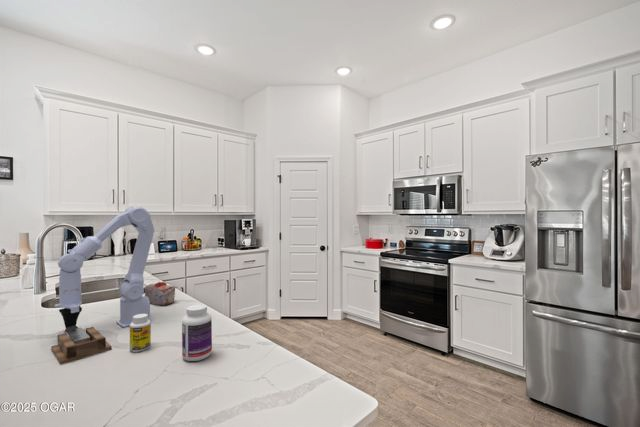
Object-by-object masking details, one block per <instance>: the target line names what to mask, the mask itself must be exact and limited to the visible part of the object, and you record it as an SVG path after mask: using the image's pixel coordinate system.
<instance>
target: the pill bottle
mask: <svg viewBox="0 0 640 427" xmlns="http://www.w3.org/2000/svg"><path fill="white" fill-rule="evenodd" d="M185 311H186V315H184V317H183V318H182V319H181V339H182V340H181V346H182V347H181V355H182V358H183V359H184V360H185V361H187V362H198V361H202V360H205V359H206V358H208V357H210V355H212V351H213V348H212V347H213V344H212V342H213V339H212V337H213V334H212V333H213V332H212V331H213V329H212V327H213V326H212V325H213V324H212V323H213V322H212V314H210V313H209V312H207V311H208V306H207V305H206V304H193V305H190V306H188V307H186V310H185Z"/></svg>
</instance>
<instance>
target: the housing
mask: <svg viewBox="0 0 640 427" xmlns="http://www.w3.org/2000/svg"><path fill="white" fill-rule="evenodd" d="M85 332H86V333H87V334H88V335H89V336H90V341H89V342H85V343H81V344H77V345H75V344H74V342H73V341H72V340H71V339H70V337H69V336H68V335H67V334H66V333H60V334H58V335H57V344H55V345H51V347H50V348H51V351H52V353H53V355H54V356H55V358H56V360H57V362H58V363H59V365H64V364H68V363H70V362H74V361H77V360H81V359H85V358H88V357H91V356H95V355H98V354H101V353H105V352H108V351H111V350H112V345H111V344H110V343H109V342H108V341H106V337H105V336H104V335H103V334H102V333H101V332H100V331H99V330H98V329H97V328H95V327H94V326H90V327H85Z"/></svg>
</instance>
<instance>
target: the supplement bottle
mask: <svg viewBox="0 0 640 427" xmlns="http://www.w3.org/2000/svg"><path fill="white" fill-rule="evenodd" d="M151 323H152V322H151V320H148V314H138V315H135V316H133V322H132V323H131V324H130V326H129V350H130V351H131V352H133V353H138V352H140V353H141V352H144V351H146V350H148V349H150V347H151V343H152V340H151V336H152V334H151V333H152V332H151V328H152V326H151V325H152V324H151Z"/></svg>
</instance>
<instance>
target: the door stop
mask: <svg viewBox="0 0 640 427" xmlns="http://www.w3.org/2000/svg"><path fill="white" fill-rule="evenodd" d="M64 333H66V334H67V335H68V336H69V337H70V339H71V340H72V341H73V342H74V344H75V345H77V344H81V343H85V342H89V341H90V336H89V335H88V334H87V333H86V330H85V329H83V328H82V327H78V326H77V324H76V325H70V326H68V327H67V328H66V327H65V328H64ZM64 333H63V334H64Z"/></svg>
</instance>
